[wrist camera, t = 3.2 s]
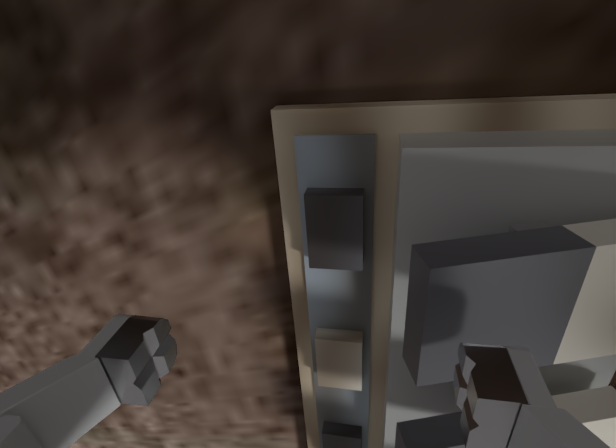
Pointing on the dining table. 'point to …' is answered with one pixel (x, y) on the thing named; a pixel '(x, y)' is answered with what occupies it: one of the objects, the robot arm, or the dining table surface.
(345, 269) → the switch board
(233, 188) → the dining table surface
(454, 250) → the block
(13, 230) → the dining table surface
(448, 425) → the rocker
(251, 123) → the dining table surface
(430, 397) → the switch housing
